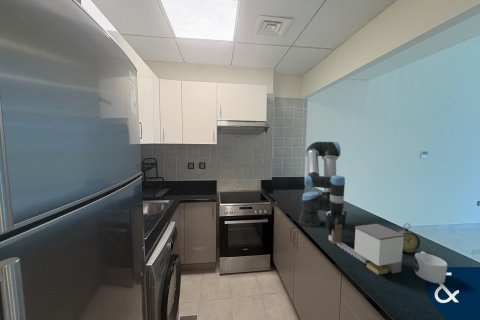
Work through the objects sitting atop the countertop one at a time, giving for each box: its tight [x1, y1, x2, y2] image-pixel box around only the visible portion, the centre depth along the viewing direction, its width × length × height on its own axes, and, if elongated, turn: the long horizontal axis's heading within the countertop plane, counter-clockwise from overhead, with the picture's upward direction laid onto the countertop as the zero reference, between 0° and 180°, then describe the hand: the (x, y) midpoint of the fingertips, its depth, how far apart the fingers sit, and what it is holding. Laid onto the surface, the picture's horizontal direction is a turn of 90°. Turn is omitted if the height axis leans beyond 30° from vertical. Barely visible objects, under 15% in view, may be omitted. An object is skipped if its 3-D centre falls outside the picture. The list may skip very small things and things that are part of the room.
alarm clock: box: [398, 222, 421, 254], centre depth 109 cm, size 11×5×16 cm, turn 83°
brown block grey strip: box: [327, 220, 371, 265], centre depth 110 cm, size 25×5×12 cm, turn 16°
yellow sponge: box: [366, 261, 389, 276], centre depth 93 cm, size 6×6×2 cm
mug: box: [414, 251, 448, 284], centre depth 90 cm, size 13×10×8 cm
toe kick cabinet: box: [353, 223, 404, 274], centre depth 96 cm, size 13×14×18 cm
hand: (334, 239), depth 120 cm, fingers closed on brown block grey strip, 5 cm apart
